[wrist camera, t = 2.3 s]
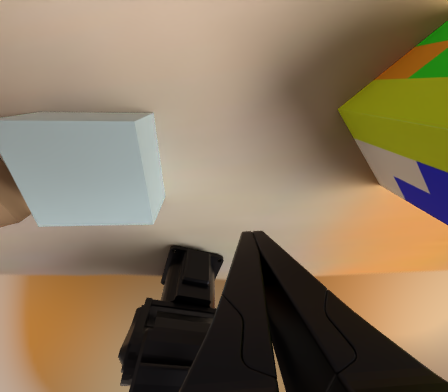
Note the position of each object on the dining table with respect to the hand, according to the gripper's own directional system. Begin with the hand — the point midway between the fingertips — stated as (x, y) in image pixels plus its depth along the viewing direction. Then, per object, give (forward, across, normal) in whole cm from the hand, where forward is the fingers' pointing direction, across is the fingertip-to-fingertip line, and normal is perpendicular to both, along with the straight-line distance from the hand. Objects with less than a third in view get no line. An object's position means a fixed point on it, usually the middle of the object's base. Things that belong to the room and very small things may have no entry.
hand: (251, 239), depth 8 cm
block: (+12, +11, 0) cm, 17 cm away
